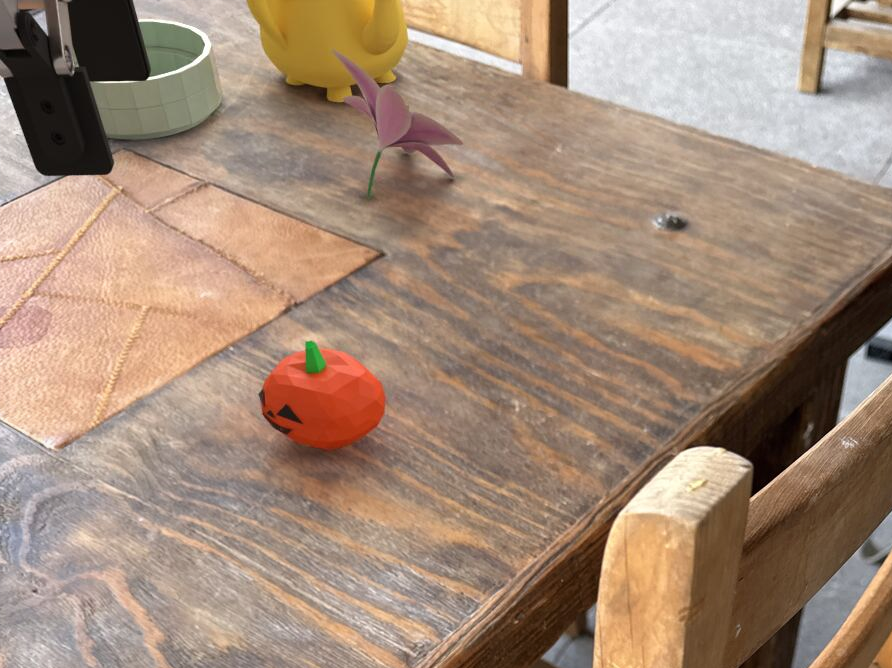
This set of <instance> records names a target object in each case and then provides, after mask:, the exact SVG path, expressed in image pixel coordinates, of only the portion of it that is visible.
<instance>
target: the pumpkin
mask: <svg viewBox="0 0 892 668" xmlns="http://www.w3.org/2000/svg"><path fill="white" fill-rule="evenodd" d="M304 345H305V349H304V350H300V351H297V352H295V353H292V354H290V355H288V356H286V357H284V358H282V359H281V360H280V361H279V362H278V363H277V364H276V366H275V367H274V369H273V370H271V372H270V373H269V375H268V376H267V377H266V378H265V379H264V382H263V385H262V389H261V390H260V392H259V393H258V394H257V395H258V397H259V403H260V407H261V410H259V411H260V413H261V415H262V416H263V419H265V420H266V421H267V422H268V424H269V425H270V426H271V428H273V429H274V430H275V431H278V432H280V433H281V434H282V435H284V436H285V437H287V438H288V439H290V440H291V441H293V442H294V443H298V444H301V445H305V446H308V447H311V448H315V449H321V450H326V451H333V450H337V449H340V448H344V447H348V446H350V445H352V444H354V443H356V442H357V441H358V442H359V441H360V440H362V439H363V438H364V437H365V436H367V435H368V434H369V433H370V432H372V431H373V430H374V429H376V428H377V427H378V426H379V424H380V423H381V420H382V418H383V416H384V414H385V413H386V411H385V410H386V399H387V398H386V397H387V396H386V394H385V391H384V387H383V384H382V381H380V380H379V379H378V378H377V377H376V375H374V374H373V373H372V372H371V371H370V370H369V369H368V368H367V367H366V366H365V365H363V364H362V363H361V361H359V360H358V359H356V358H354V357H353V356H352V355H350V354H348V353H347V352H345V351H340V350H335V349H330V348H320V347H318V345H317V343H316V342H314V341H313V340H307V341H305V342H304Z"/></svg>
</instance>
